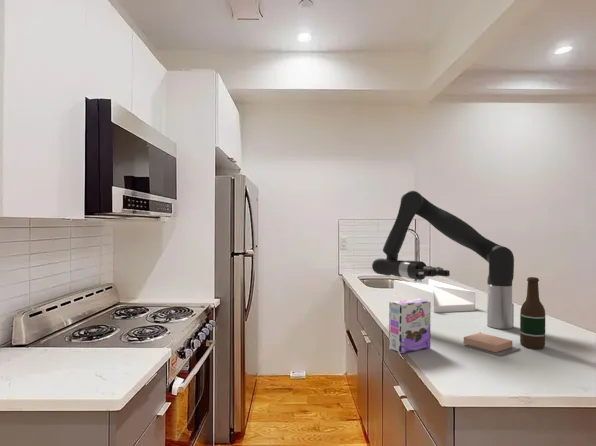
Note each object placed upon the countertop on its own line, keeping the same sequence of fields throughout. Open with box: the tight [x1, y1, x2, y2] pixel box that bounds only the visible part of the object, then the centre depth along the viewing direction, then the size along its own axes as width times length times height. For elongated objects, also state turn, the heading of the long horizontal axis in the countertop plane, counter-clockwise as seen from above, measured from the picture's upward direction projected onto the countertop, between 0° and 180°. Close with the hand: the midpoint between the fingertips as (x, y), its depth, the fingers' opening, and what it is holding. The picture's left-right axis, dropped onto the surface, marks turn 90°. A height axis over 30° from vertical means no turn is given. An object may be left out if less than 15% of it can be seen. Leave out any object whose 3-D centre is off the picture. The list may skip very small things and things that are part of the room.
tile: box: [463, 332, 513, 352], centre depth 146 cm, size 10×2×12 cm
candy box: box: [388, 299, 431, 355], centre depth 144 cm, size 14×6×16 cm, turn 117°
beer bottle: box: [519, 276, 546, 350], centre depth 147 cm, size 8×8×24 cm
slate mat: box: [464, 344, 521, 357], centre depth 145 cm, size 12×13×1 cm
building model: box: [393, 278, 476, 313], centre depth 224 cm, size 45×22×10 cm, turn 12°
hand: (448, 273), depth 160 cm, fingers closed
